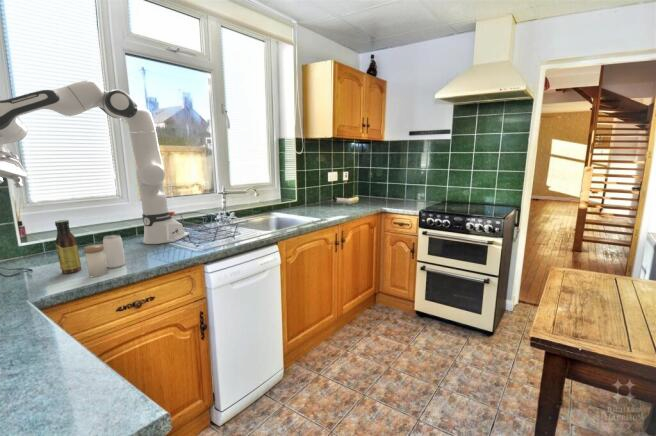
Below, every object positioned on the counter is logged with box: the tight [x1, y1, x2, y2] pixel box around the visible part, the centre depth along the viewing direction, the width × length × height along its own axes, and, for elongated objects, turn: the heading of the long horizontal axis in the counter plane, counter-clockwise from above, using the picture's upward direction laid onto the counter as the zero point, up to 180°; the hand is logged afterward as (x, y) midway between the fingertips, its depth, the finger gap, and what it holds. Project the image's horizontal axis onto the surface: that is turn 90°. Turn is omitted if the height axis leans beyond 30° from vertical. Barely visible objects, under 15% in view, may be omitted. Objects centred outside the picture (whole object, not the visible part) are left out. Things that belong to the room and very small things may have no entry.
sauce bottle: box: [54, 219, 82, 274], centre depth 128 cm, size 7×6×20 cm
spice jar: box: [83, 243, 108, 277], centre depth 126 cm, size 6×6×11 cm
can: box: [102, 234, 126, 269], centre depth 135 cm, size 6×6×12 cm
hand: (10, 184), depth 129 cm, fingers open, 8 cm apart
